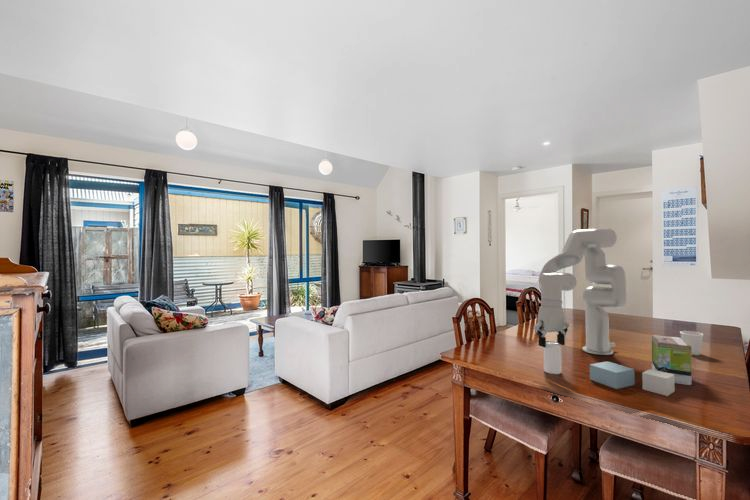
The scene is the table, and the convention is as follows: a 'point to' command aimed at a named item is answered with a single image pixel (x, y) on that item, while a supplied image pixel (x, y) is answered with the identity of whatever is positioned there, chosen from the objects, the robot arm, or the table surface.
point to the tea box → (672, 357)
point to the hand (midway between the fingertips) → (551, 345)
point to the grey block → (658, 382)
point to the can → (552, 358)
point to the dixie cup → (693, 341)
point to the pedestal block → (612, 374)
